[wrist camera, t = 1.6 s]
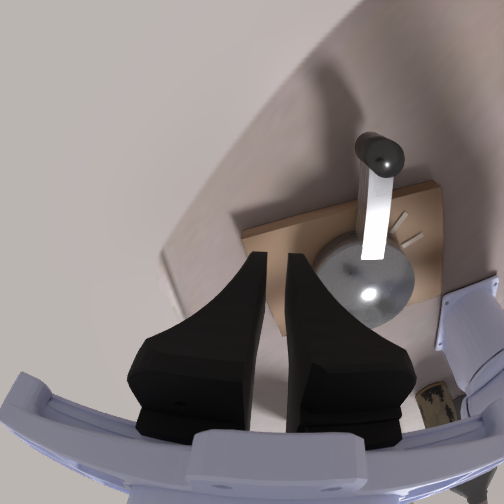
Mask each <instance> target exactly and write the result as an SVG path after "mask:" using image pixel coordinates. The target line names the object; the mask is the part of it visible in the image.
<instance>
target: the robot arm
mask: <svg viewBox="0 0 504 504" xmlns="http://www.w3.org/2000/svg"><path fill="white" fill-rule="evenodd" d="M267 257H268V252H260V251H252V252H251V253H250V254H249V256H248V258H247V260H246V261H245V263H244V264H243V266H242V267H241V269H240V270H239V271H238V273H237V274H236V275H235V276H234V278H233V279H232V280H231V281H230V282H229V283H228V284H227V286H226V287H225V288H224V289H223V290H222V291H221V292H220V293H219V294H218V295H217V296H216V297H215V298H214V299H213V300H211V301H210V302H209V303H208V304H207V305H206V306H204V307H203V308H202V309H200V310H199V311H198V312H196V313H195V314H194V315H192V316H191V317H189V318H187V319H186V320H184V321H183V322H181V323H179V324H177V325H175V326H174V327H172V328H170V329H168V330H166V331H163V332H161V333H159V334H157V335H155V336H152V337H150V338H147V339H146V340H145V342H144V343H143V345H142V346H141V348H140V349H139V351H138V353H137V355H136V357H135V359H134V361H133V364H132V366H131V369H130V371H129V373H128V377H127V382H128V384H129V387H130V388H131V390H132V392H133V393H134V395H135V397H136V399H137V400H138V402H139V403H140V405H141V406H142V408H141V411H140V414H139V417H138V420H137V422H134V421H130V420H127V419H123V418H120V417H116V416H113V415H110V414H107V413H103V412H100V411H97V410H94V409H91V408H88V407H86V406H83V405H80V404H78V403H75V402H72V401H70V400H67V399H65V398H62V397H60V396H57V395H55V394H53V393H52V392H51V390H50V389H49V388H48V386H47V385H46V384H44V383H43V382H42V381H41V380H39V379H37V378H35V377H33V376H31V375H29V374H26V373H24V372H20V374H19V376H18V377H17V379H16V381H15V382H14V384H13V386H12V388H11V390H10V391H9V393H8V395H7V397H6V399H5V400H4V402H3V404H2V406H1V408H0V422H1V423H2V424H3V425H4V426H5V427H7V428H8V429H9V430H10V431H11V432H12V433H14V434H15V435H16V436H17V437H19V438H20V439H21V440H22V441H24V442H25V443H26V444H27V445H29V446H30V447H32V448H33V449H35V450H37V451H38V452H40V453H42V454H43V455H45V456H47V457H49V458H50V459H52V460H54V461H56V462H58V463H60V464H61V465H63V466H65V467H67V468H69V469H71V470H73V471H75V472H77V473H80V474H81V475H83V476H86V477H88V478H90V479H92V480H94V481H96V482H99V483H101V484H104V485H106V486H108V487H111V488H113V489H116V490H119V491H121V492H124V493H127V494H129V498H128V501H127V504H406V503H409V502H413V501H416V500H419V499H422V498H425V497H428V496H431V495H434V494H437V493H439V492H442V491H444V490H447V489H450V488H452V487H455V486H457V485H459V484H462V483H464V482H466V481H469V480H471V479H473V478H475V477H477V476H480V475H482V474H484V473H486V472H488V471H490V470H492V469H493V468H495V467H496V466H498V465H500V464H501V463H504V310H503V309H502V308H501V306H500V305H499V303H498V302H497V300H496V299H495V295H496V291H497V287H498V282H499V277H498V276H497V275H496V276H493V277H491V278H488V279H486V280H483V281H481V282H478V283H476V284H473V285H470V286H468V287H465V288H462V289H460V290H457V291H454V292H451V293H449V294H446V295H444V297H443V299H442V307H441V315H440V322H439V328H438V334H437V340H436V346H435V350H436V351H440V350H443V351H444V353H445V356H446V358H447V361H448V363H449V365H450V368H451V371H452V373H453V376H454V378H455V381H456V383H457V385H458V387H459V388H460V389H461V390H462V391H464V392H465V393H466V395H467V396H466V397H465V398H464V399H463V401H462V406H461V420H458V421H455V422H451V423H448V424H444V425H440V426H436V427H432V428H427V429H423V430H418V431H413V432H408V433H401V428H400V423H399V419H400V418H401V417H402V412H401V407H400V406H401V404H402V403H403V402H404V400H405V399H406V398H407V397H408V395H409V394H410V393H411V391H412V390H413V388H414V386H415V384H416V379H417V377H416V374H415V371H414V368H413V365H412V362H411V360H410V358H409V355H408V353H407V351H406V350H405V349H403V348H401V347H399V346H397V345H396V344H394V343H392V342H390V341H388V340H386V339H385V338H383V337H381V336H380V335H378V334H377V333H375V332H374V331H372V330H371V329H370V328H368V327H367V326H365V325H364V324H363V323H361V322H360V321H359V320H358V319H357V318H355V317H354V316H353V315H352V314H351V313H349V312H348V311H347V310H346V309H345V308H344V307H343V306H342V305H341V304H340V303H339V302H338V301H337V300H336V299H335V298H334V296H333V295H332V294H331V293H330V292H329V290H328V289H327V288H326V287H325V285H324V284H323V283H322V281H321V280H320V278H319V277H318V276H317V274H316V273H315V271H314V270H313V268H312V267H311V265H310V263H309V262H308V260H307V258H306V256H305V255H304V254H303V253H288V261H287V272H286V284H285V303H284V314H285V325H286V335H287V346H288V358H289V376H288V404H287V422H286V433H272V432H254V431H250V420H251V409H252V397H253V386H254V374H255V363H256V356H257V350H258V345H259V340H260V335H261V329H262V324H263V319H264V313H265V301H266V282H267Z"/></svg>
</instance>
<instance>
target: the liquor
mask: <svg viewBox="0 0 504 504" xmlns="http://www.w3.org/2000/svg"><path fill="white" fill-rule="evenodd" d="M466 396H467V395H466V394H465V395H463V396H460V397H458V398H457V399H455V400H453V401H452V402H453V405H454V408H455V411H456V415H457V419H458V420H461V406H462V401H463V399H464V398H465V397H466ZM496 469H497V466H496V467H495V468H493V469H492V470H490V471H488V472H486V473H484V474H482V475H480V476H477V477H475V478H473V479H471V480H469V481H466V482H464V483H462V484H459V485H457V486H455V487H452V488H450V490H451V491H453V492H455V493H457V494H459V495H461V496H463V497H465V498H467V502H468V503H469V504H487V488H488V486H489V484H490V482H491V480H492V478H493V476H494V473H495V471H496Z"/></svg>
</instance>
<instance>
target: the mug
mask: <svg viewBox="0 0 504 504" xmlns="http://www.w3.org/2000/svg"><path fill="white" fill-rule="evenodd" d="M415 398H416V401H417V404H418V406H419V409H420V412H421V415H422V418H423V422H424V425H425V429H427V428H432V427H436V426H440V425H444V424H448V423H451V422H455V421H458V419H457V415H456V411H455V408H454V405H453V402H452V399H451V396H450V393H449V391H448V389H447V386H446V383H445V382H436V383H433V384H430V385H428V386H426V387H425V388H423V389H422V390H421V391H419V392H418V393H417V395H416V397H415Z"/></svg>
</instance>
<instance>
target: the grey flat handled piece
mask: <svg viewBox="0 0 504 504" xmlns="http://www.w3.org/2000/svg"><path fill="white" fill-rule="evenodd" d="M355 152H356V155H357V157H358V158H359V159H360V166H359V189H358V205H357V218H356V229H355V230H353V231H350V232H346V233H344V234H342V235H339V236H337V237H336V238H334V239H333V240H331V241H330V242H329V243H327V244H326V245H325V246H324V247H323V248H322V249H321V250H320V252H319V253H318V254H317V256H316V258H315V259H314V262H313V264H312V268H313V270H314V271H315V273H316V274H317V276H318V277H319V278H320V280H321V281H322V283H323V284H324V285H325V287H326V288H327V289H328V290H329V292H330V293H331V294H332V295H333V296H334V298H335V299H336V300H337V301H338V302H339V303H340V304H341V305H342V306H343V307H344V308H345V309H346V310H347V311H348V312H349V313H351V314H352V315H353V316H354V317H355V318H357V319H358V320H359V321H360V322H361V323H363V324H364V325H365V326H367V327H368V328H370V329H372V328H375V327H378V326H380V325H382V324H384V323H386V322H388V321H389V320H391V319H392V318H394V317H395V316H396V315H397V314H398V313H399V312H400V311H402V309H403V308H404V307H405V306H406V304H407V303H408V301H409V299H410V298H411V296H412V293H413V290H414V285H415V274H414V270H413V268H412V265H411V263H410V262H409V260H408V259H407V257H406V255H405V254H404V252H403V251H402V249H401V248H400V246H399V245H398V243H397V242H396V241H395V240H394V239H393V238H392V237H390V236H389V235H387V230H388V223H389V215H390V207H391V198H392V188H393V177H394V176H396V175H397V174H398V173H399V172H400V171H401V170H402V168H403V166H404V162H405V156H404V152H403V150H402V148H401V147H400V146H399V145H398V144H397V143H395V142H394V141H392V140H390V139H388V138H385V137H383V136H381V135H379V134H377V133H375V132H365V133H363V134H361V135H360V136H359V137H358V139H357V140H356V143H355Z"/></svg>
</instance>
